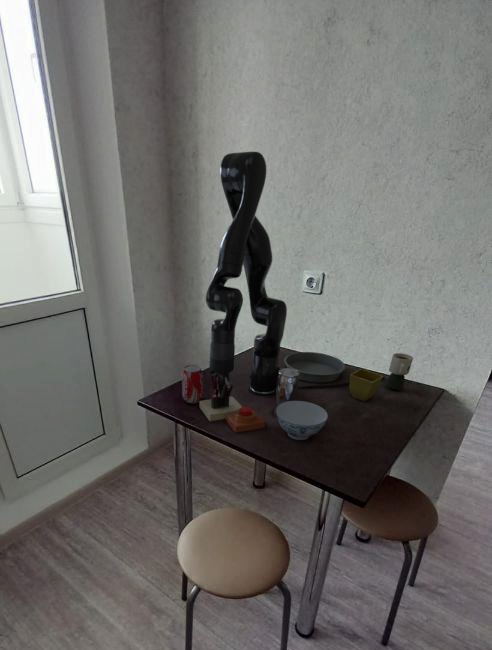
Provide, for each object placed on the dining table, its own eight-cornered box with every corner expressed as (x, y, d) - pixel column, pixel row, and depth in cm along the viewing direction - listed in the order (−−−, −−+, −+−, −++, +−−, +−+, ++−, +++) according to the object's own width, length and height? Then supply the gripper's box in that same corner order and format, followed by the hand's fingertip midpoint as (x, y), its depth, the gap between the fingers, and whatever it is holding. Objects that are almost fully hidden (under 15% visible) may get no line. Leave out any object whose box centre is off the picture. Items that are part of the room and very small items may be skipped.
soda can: (199, 406, 137) (200, 373, 130) (179, 403, 138) (179, 370, 132) (204, 397, 143) (205, 365, 136) (185, 394, 144) (185, 363, 137)
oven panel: (231, 402, 140) (232, 395, 138) (245, 417, 131) (245, 409, 130) (199, 407, 136) (199, 400, 134) (210, 422, 127) (211, 415, 126)
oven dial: (226, 404, 133) (227, 392, 131) (228, 406, 132) (229, 394, 129) (211, 406, 131) (211, 394, 129) (213, 409, 130) (213, 397, 128)
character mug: (405, 395, 150) (415, 362, 144) (385, 392, 152) (394, 360, 145) (402, 384, 159) (411, 352, 153) (383, 381, 161) (391, 350, 154)
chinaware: (290, 452, 115) (294, 428, 111) (265, 426, 126) (267, 405, 122) (333, 442, 120) (338, 419, 116) (305, 419, 132) (308, 397, 128)
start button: (248, 410, 128) (248, 405, 127) (253, 415, 125) (253, 410, 124) (238, 412, 126) (238, 407, 125) (242, 417, 123) (243, 412, 123)
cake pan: (271, 372, 165) (272, 361, 162) (302, 357, 181) (303, 347, 179) (325, 390, 151) (327, 379, 149) (353, 372, 168) (355, 362, 165)
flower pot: (378, 398, 147) (384, 375, 143) (367, 405, 142) (373, 382, 137) (355, 390, 152) (361, 368, 148) (344, 397, 147) (349, 374, 142)
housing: (253, 415, 132) (254, 405, 130) (264, 427, 126) (265, 416, 124) (225, 420, 129) (226, 409, 127) (235, 432, 123) (236, 421, 120)
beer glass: (280, 420, 130) (286, 378, 122) (268, 411, 135) (273, 369, 127) (297, 416, 133) (304, 374, 125) (285, 407, 138) (291, 366, 130)
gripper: (242, 361, 118) (239, 413, 127) (224, 346, 129) (222, 395, 138) (219, 364, 116) (217, 416, 125) (202, 348, 126) (202, 398, 135)
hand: (220, 405), depth 131 cm, fingers closed on oven dial, 2 cm apart
